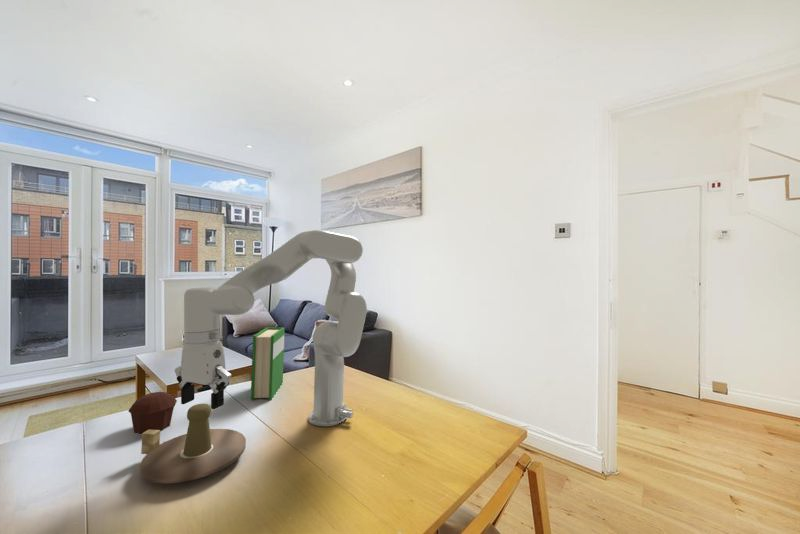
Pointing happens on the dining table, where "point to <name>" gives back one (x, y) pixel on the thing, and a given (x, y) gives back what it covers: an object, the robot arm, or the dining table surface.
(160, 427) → the muffin
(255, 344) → the hardback book
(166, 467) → the turntable
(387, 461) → the dining table surface
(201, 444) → the cork
